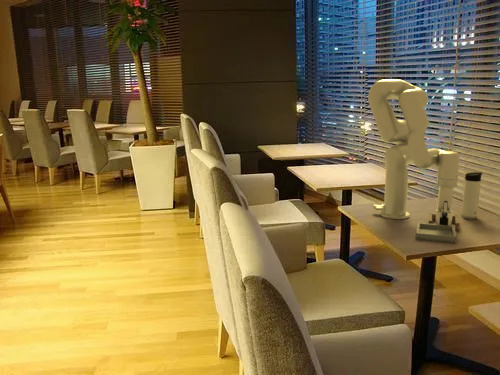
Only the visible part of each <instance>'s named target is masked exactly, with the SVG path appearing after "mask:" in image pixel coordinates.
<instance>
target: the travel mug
mask: <svg viewBox="0 0 500 375" xmlns="http://www.w3.org/2000/svg"><path fill="white" fill-rule="evenodd" d="M482 175H483V172H476V171H473V172H467V173H465V178H464V185H463V195H462V206H461V218H464V219H466V220H476V219H477V218H478V212H479V202H480V201H479V200H480V194H481V184H482Z"/></svg>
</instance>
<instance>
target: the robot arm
mask: <svg viewBox="0 0 500 375" xmlns="http://www.w3.org/2000/svg"><path fill="white" fill-rule="evenodd" d="M367 96H368V97H367V100H368V105H369V108H370V111H371V112H372V115H373V118H374V121H375V123H376V124H375V125H376V127H377V130H378V133H379V135H380V139H381V140H382V141H383V142H384V143H386V144H394V145H392V146H390V147H389V148H388V149H386V150H385V153H384V164H385V165H384V166H385V180H384V183H385V184H384V196H383V197H384V198H383V199H384V201H383V204H381V205H379V204H373V210H376V211H379V215H380V216H381V217H383V218H387V219H390V220H405V219H408V218H410V212H408V211H407V201H408V190H409V189H408V188H409V170H408V168H407V166H408V165H412V164H414V165H415V166H416V167H417V168H418V169H421V170H427V169H431V168H435V167H438V168H437V177H436V186H437V187H439V188H438V196H437V208H436V209H438V211H439V210H441V217H440V223H439V225H448V219H449V218H448V212H449V211H450V210H452V203H453V195H454V188H457V187H458V178H459V166H460V158H461V157H460V153H459V152H457V151H452V150H442V149H439V148H428V147H427V145H426V140H425V133H426V131H427V129H428V127H429V125H430V120H429V118H428V114H427V112H426V110H425V107H426V106H427V105H428V103H429V96H428V94H427V92H426V91H425V90H424V89H422V88H420V87H417V86H416V85H413V84H411V83H409V82H407V81H405V80H402V79H397V78H396V79H395V78H393V79H392V78H391V79H389V78H388V79H387V78H386V79H381V80H378V81H375V82H374V84H372V85H371V87H370V89H369V92H368V95H367ZM389 100H397V101H398V103H399V107H400V111H401V113H402V115H403V118H404V120H403V119H397V117H396V114H395V110H394V108H393V106H392V105H391V104H390V102H389ZM442 209H444V210H442ZM447 209H448V210H447ZM442 212H443V213H442Z"/></svg>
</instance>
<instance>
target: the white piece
mask: <svg viewBox="0 0 500 375" xmlns="http://www.w3.org/2000/svg"><path fill="white" fill-rule="evenodd" d="M442 210H444V209H442ZM447 210H448V209H447ZM454 212H455V211H454V210H453V209H451V210H450V211H449V212H448V218H449V219H448V225H449V226H452V223H451V222H452V217H453V215H454ZM442 213H443V212H442ZM435 214H436V221H435V224H438V225H439V223H440V217H441V210H439V211H438V209H437V208H436V209H435Z"/></svg>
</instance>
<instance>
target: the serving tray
mask: <svg viewBox="0 0 500 375" xmlns="http://www.w3.org/2000/svg"><path fill="white" fill-rule="evenodd" d="M415 240H419V241H428V242H429V241H430V242H437V243H438V242H439V243H447V244H448V243H449V244H457V243H456V242H457V233H456V230H455V225H451V226H449V225H438V224H436V223H432V224H428V223H427V222H426V223H425V222H417V224H416V231H415Z"/></svg>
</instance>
